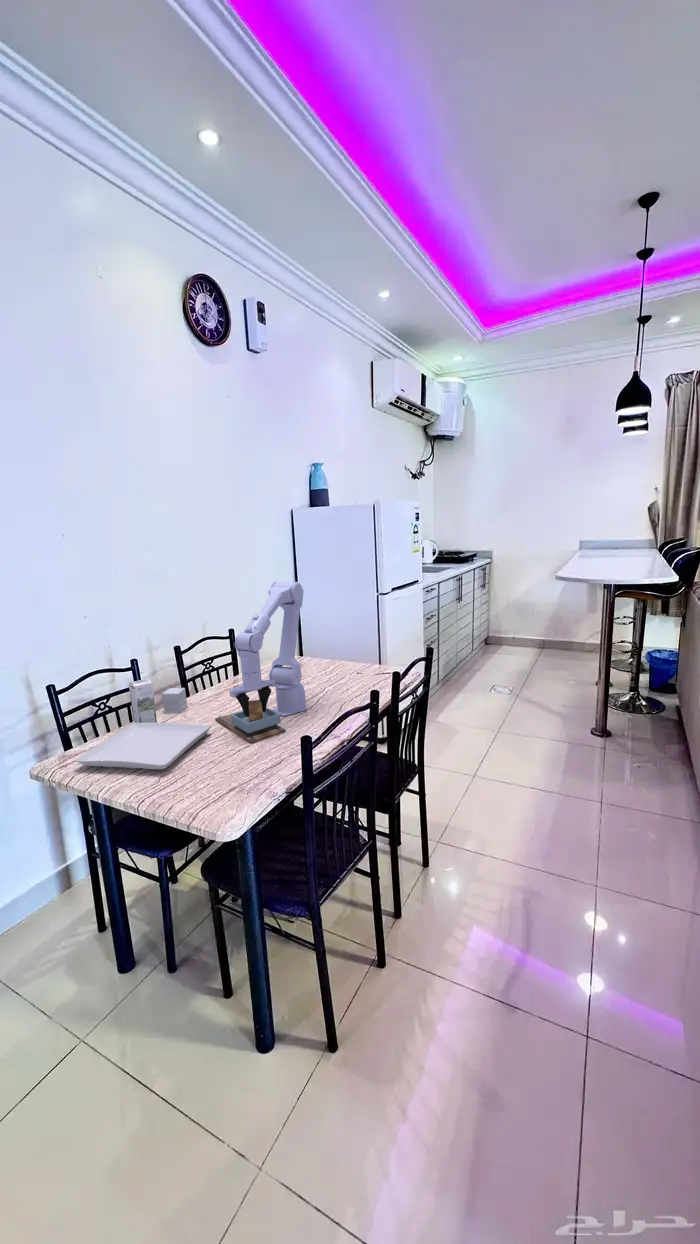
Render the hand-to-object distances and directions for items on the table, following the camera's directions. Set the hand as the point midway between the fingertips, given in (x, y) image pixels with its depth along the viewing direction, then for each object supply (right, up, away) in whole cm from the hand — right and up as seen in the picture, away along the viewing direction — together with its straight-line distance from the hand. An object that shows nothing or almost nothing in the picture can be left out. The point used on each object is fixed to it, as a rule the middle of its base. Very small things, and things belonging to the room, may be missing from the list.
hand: (255, 713), depth 157 cm
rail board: (-3, -5, +5) cm, 8 cm away
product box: (-32, -3, +23) cm, 40 cm away
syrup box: (-39, -6, +12) cm, 41 cm away
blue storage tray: (0, -4, +1) cm, 4 cm away
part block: (0, -1, 0) cm, 1 cm away
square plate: (-29, -10, -9) cm, 32 cm away
